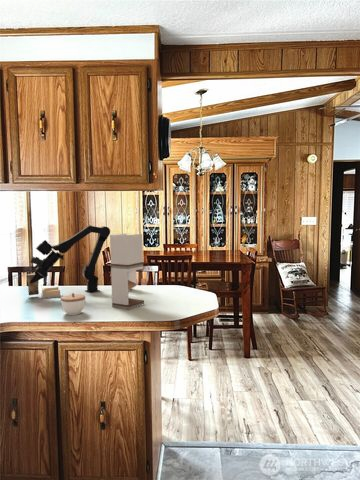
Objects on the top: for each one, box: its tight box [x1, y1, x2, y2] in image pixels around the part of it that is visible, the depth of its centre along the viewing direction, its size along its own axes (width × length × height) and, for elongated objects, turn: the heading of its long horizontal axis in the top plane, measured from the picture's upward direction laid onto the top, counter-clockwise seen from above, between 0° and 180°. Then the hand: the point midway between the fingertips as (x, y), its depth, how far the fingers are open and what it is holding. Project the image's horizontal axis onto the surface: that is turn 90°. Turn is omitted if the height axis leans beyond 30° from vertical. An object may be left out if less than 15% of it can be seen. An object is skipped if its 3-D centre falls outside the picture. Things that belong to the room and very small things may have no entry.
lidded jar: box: [60, 292, 86, 316], centre depth 167 cm, size 11×11×9 cm
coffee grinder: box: [109, 233, 145, 311], centre depth 178 cm, size 11×11×35 cm
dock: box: [40, 286, 64, 300], centre depth 205 cm, size 11×12×4 cm
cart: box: [27, 273, 40, 296], centre depth 201 cm, size 5×6×11 cm
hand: (30, 282), depth 200 cm, fingers closed on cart, 5 cm apart
